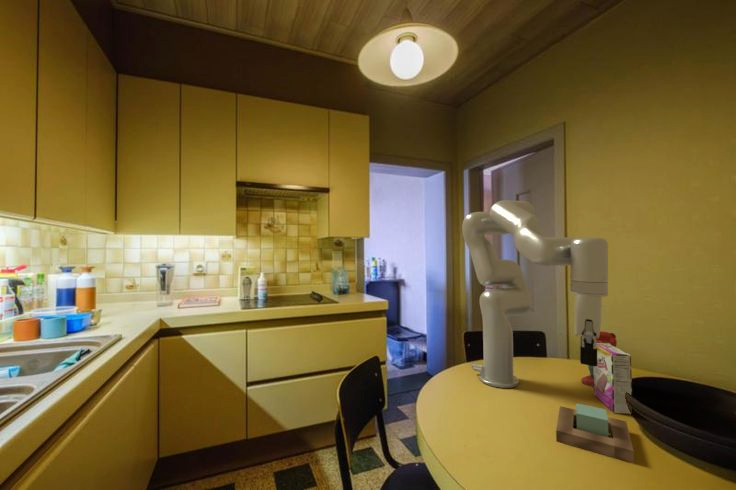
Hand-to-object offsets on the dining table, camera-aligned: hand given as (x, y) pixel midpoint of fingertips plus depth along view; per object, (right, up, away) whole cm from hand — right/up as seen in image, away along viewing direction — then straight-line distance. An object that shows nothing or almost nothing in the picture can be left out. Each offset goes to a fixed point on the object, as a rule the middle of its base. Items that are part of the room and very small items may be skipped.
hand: (588, 358), depth 77 cm
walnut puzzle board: (0, -18, -1) cm, 18 cm away
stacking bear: (+24, -19, +27) cm, 41 cm away
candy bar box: (+17, -19, +14) cm, 29 cm away
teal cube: (0, -19, -1) cm, 19 cm away
